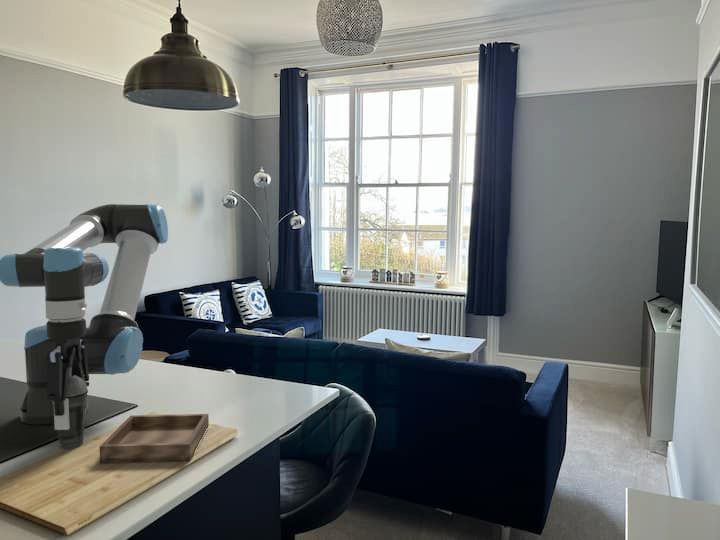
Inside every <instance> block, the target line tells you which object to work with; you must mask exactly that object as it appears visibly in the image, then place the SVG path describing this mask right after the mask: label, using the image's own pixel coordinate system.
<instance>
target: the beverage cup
mask: <svg viewBox="0 0 720 540" xmlns="http://www.w3.org/2000/svg"><path fill="white" fill-rule="evenodd" d="M88 393H89V390H88V386H86V383H85V382H84V380H83V379H82V378H80V377H79V376H76V375H71V367H70V369H69V377H68V385H67V393H66V398H68V402H69V425H70V428H69V429H68V430H56V431H57V436H58V437H57V438H58V442H59V447H60V449H62V450H71V449H77V448H79V447H81V446H82V445H84V437H85V423H86V422H85V420H86V419H85V418H86V416H85V406H86V399H87V398H88ZM87 400H88V399H87ZM52 403H53V406H54V402H53V400H52Z"/></svg>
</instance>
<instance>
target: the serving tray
mask: <svg viewBox="0 0 720 540" xmlns="http://www.w3.org/2000/svg"><path fill="white" fill-rule="evenodd" d="M208 426H209V427H210V425H209V413H194V414H193V413H191V414H190V413H187V414H149V415H148V414H147V415H146V414H145V415H144V414H142V415H140V414H139V415H129V417H128V418H126V419H125V420H124V422H122V424H120V425H119V426H118V428H116V429H115V431H114V432H113V433H111V434H110V436H109V437H107V438H106V440H104V442H103V443H101V444H100V445H99V447H98V448H99V463H100V464H118V463H119V464H120V463H121V464H123V463H122V462H130V463H157V462H156V461H158V462H159V461H167V462H191V460H192V459H193V457H194V455H195V454H194V452H195V450H196V448H197V446H198V444H199V442H200V440H201V439H202V437H203V435H204V433H205V431H206V429H207V428H208ZM202 440H203V439H202ZM198 447H199V446H198ZM197 449H198V448H197ZM196 451H197V450H196ZM195 453H196V452H195ZM154 461H155V462H154ZM159 463H160V462H159Z"/></svg>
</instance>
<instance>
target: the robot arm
mask: <svg viewBox="0 0 720 540" xmlns="http://www.w3.org/2000/svg"><path fill="white" fill-rule="evenodd" d="M167 221H168V220H167V216H166V213H165V210H164V208H163V207H162V206H161V205H158V204H149V203H146V204H117V203H116V204H115V203H111V204H104V205H100V206H96V207H94V208H91V209H89V210H87V211H84V212H81V213H80V214H78V215H77V216H75V217H74V218H73V219H72V220H71V221H70V223H69V225H68V226H66V227H65V228H63V229H61V230H60V231H58V232H57V233H55V234H54V235H52V236H50V237H48V238H47V239H45V240H44V241H41V243H39V244H38V245H36V246H34V247H33V248H31V249H29V250H28V251H26V252H24V253H13V254H6V255H3V256H2V257H1V258H0V283H1V284H2V285H4V286H6V287H18V288H34V287H35V288H37V287H38V288H41V287H44V292H45V293H44V294H45V299H44V300H45V318H46V319H47V320H48V321H47V322H46V324H44V325H39V326H37V327H33V328H31V329H29V330H27V331H26V333H25V334H24V346H23V350H24V359H25V374H26V375H25V376H26V390H25V394H24V396H23V400H22V403H21V406H20V410H19V418H20V419H19V420H20V422H22V423H24V424H26V425H35V426H37V425H38V426H39V425H54V431H57V430H68V429H69V428H70V425H69V402H68V398H66V393H67V385H68V377H69V369H70V367H71V375H76V376H79V377H80V378H82V379H83V380H84V382H85V383H86V386H87V387H89V386H90V375H112V376H113V375H116V374H117V375H118V374H119V375H120V374H127V373H129V372H131V371H132V370H134V368H135V367H136V366H137V364H138V363H139V361H140V359H141V356H142V353H143V343H144V337H143V333H142V331H141V329H140V328H139V325H138V323H137V321H135V319H136V314H137V310H138V305H139V302H140V297H141V295H142V290H143V286H144V281H145V277H146V274H147V269H148V265H149V262H150V258H151V255H153V254H155V253H156V252H157V250H158V247H159V244H161V245H163V244H165V243H167V242H168V239H169V225H168V222H167ZM100 244H116V245H117V247H118V251H117V254H116V257H115V260H114V264H113V267H112V271H111V273H110V268H109V264H108V261H107V260H106V259H105V258H104V257H103V256H102V255H100V254H98V253H90V252H89V253H88V252H87V253H84V251H86V250H87V249H88V248H94V247H96V246H98V245H100ZM109 273H110V276H109V281H108V283H107V288H106V291H105V294H104V298H103V302H102V304H101V308H100V311H99V313H98V314H95V315H94V316H93V317H92V318H91V320H90V324H89V326H88V327H87V320H86V319H85V318H84V317H85V316H86V308H87V307H88V304H87V303H86V296H85V295H86V294H85V292H86V291H85V288H86V287H87V288H88V287H94V286H96V285H98V284H100V283H103V282H105V280H106V278H107V277H108V275H109ZM52 400H53V402H54V406H53V403H52ZM87 412H89V402H88V399H86V406H85V417H86V416H87V415H86V413H87Z"/></svg>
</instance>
